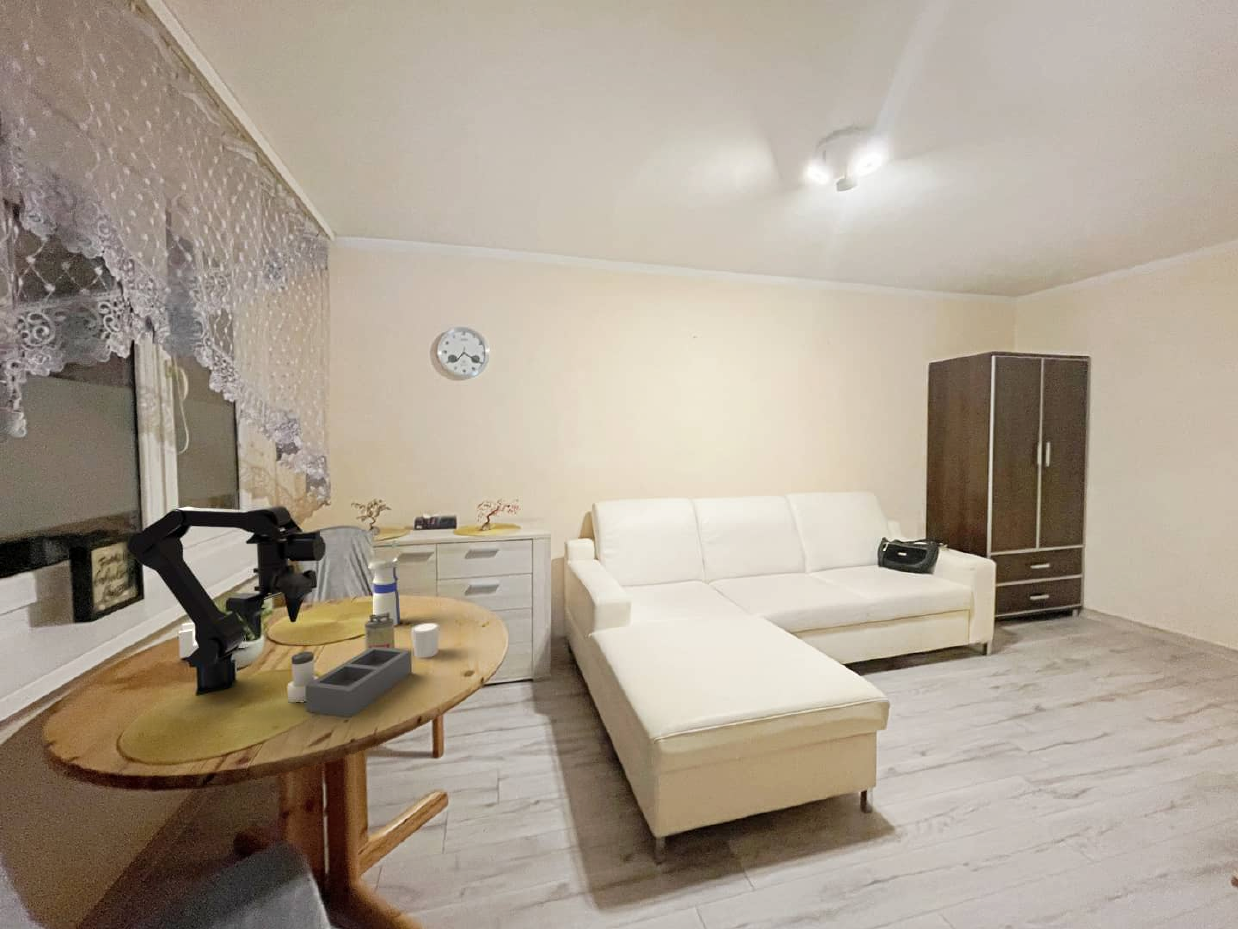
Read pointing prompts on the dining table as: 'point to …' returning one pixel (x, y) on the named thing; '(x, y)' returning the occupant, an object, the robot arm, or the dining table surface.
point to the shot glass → (425, 639)
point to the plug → (301, 676)
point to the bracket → (187, 640)
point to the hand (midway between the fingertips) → (276, 629)
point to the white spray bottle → (386, 587)
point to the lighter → (379, 632)
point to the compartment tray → (358, 681)
